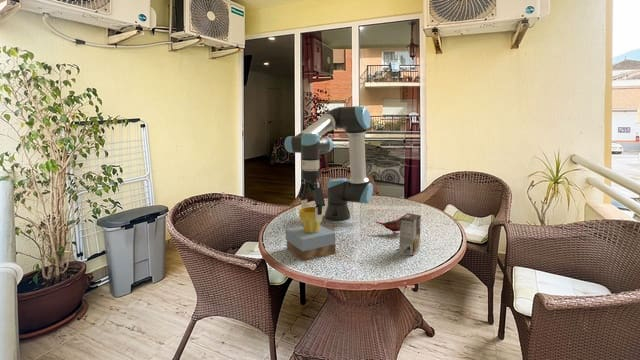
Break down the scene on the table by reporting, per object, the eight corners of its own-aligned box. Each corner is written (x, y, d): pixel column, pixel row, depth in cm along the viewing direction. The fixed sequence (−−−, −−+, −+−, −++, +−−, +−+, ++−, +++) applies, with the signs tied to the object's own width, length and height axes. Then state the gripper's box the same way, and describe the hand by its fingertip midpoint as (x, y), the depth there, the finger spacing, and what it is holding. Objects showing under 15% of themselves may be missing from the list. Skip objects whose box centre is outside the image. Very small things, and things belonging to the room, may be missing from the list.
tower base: (317, 243, 165) (317, 233, 164) (335, 254, 151) (335, 243, 150) (287, 249, 157) (286, 239, 156) (302, 262, 143) (302, 250, 142)
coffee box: (406, 247, 157) (407, 212, 155) (420, 249, 154) (421, 214, 151) (398, 253, 150) (399, 217, 147) (412, 256, 146) (414, 219, 144)
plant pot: (299, 227, 157) (298, 206, 155) (321, 226, 157) (321, 205, 156) (299, 235, 146) (299, 213, 145) (324, 234, 147) (324, 212, 146)
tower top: (316, 233, 163) (316, 223, 162) (335, 244, 150) (335, 233, 149) (286, 239, 155) (285, 229, 154) (302, 251, 142) (302, 239, 141)
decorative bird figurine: (410, 235, 172) (411, 216, 171) (374, 234, 175) (374, 215, 174) (409, 233, 175) (410, 214, 173) (374, 232, 178) (374, 213, 176)
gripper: (290, 166, 156) (291, 212, 160) (316, 174, 135) (317, 226, 138) (305, 165, 160) (306, 210, 163) (333, 172, 138) (333, 223, 142)
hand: (311, 217), depth 151 cm, fingers open, 13 cm apart
